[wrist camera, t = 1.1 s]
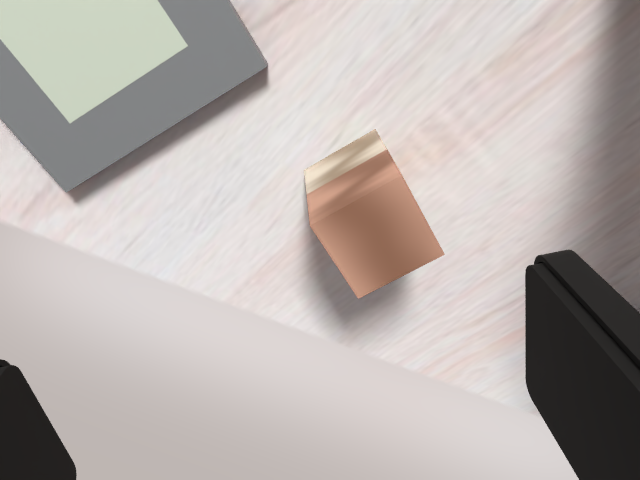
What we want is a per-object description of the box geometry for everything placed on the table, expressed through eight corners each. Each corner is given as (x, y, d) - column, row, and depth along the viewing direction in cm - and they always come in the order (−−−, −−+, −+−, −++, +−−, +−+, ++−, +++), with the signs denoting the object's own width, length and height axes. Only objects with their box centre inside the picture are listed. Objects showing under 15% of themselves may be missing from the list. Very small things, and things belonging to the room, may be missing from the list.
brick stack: (375, 128, 32) (401, 175, 25) (410, 194, 34) (444, 254, 27) (304, 169, 33) (309, 225, 26) (343, 231, 35) (358, 298, 28)
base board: (98, -217, 24) (89, -226, 23) (267, 63, 30) (267, 66, 29) (-123, -40, 26) (-141, -40, 25) (73, 185, 32) (65, 192, 31)
